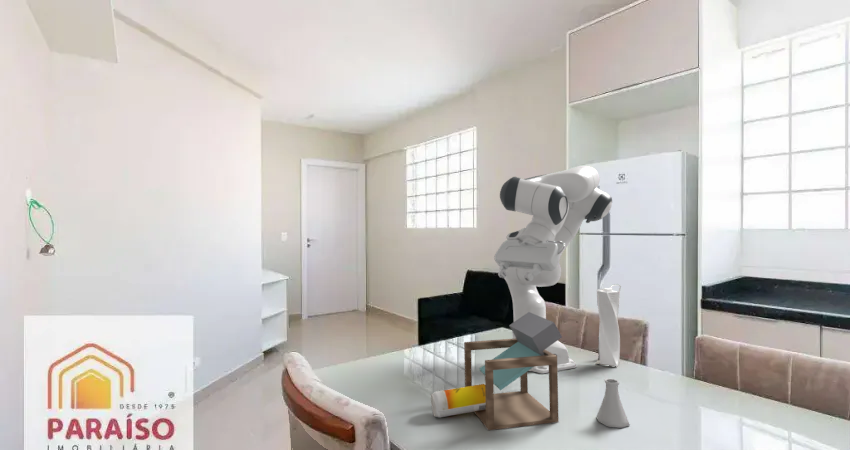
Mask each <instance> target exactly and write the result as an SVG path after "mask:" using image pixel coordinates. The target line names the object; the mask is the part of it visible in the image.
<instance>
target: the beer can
mask: <svg viewBox="0 0 850 450" xmlns="http://www.w3.org/2000/svg"><path fill="white" fill-rule="evenodd" d="M430 403H431V410H432V414H433V417H436V418H444V417H449V416H456V415H461V414H466V413H467V414H468V413H472V412H474V411H479V410H485V409H486V395H485V383H479V384H472V386H467V387H465V386H463V387H462V386H461V387H455V388H449V389H444V390H440V391H439V390H438V391H435V392H433V393H431V394H430Z"/></svg>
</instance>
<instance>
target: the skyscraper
mask: <svg viewBox="0 0 850 450" xmlns="http://www.w3.org/2000/svg"><path fill="white" fill-rule="evenodd" d="M613 287H619V288H618V291H617V290H613ZM621 287H622V286H621V284H618V283H614V284H612V285H611V286H610V287H609V288H608V287H604V288H603V289H602V288H597V289H596V298H597V301H596V302H597V309H598V316H599V323H598V325H599V326H598V327H599V328H598V337H597V339H598V348H597V352H598V358H597V359H596V362H595V365H596V364H600V365H599V366H601V365H609V366H617V365H618V362H619V361H620V354H621V353H620V352H621V337H620V328H619V322H618V317H619V316H618V315H619V311H620V310H619V309H620V298H621V297H620V296H621V294H620V291H621ZM619 363H620V362H619ZM617 367H619V365H618V366H617Z"/></svg>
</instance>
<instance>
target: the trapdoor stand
mask: <svg viewBox="0 0 850 450" xmlns="http://www.w3.org/2000/svg"><path fill="white" fill-rule="evenodd" d="M517 342H518V341H517V339H516V338H515V339H513V338H505V339H504V338H503V339H489V340H477V341H475V340H474V341H473V340H472V341H464V342H463V345H464V347H463V349H464V351H463V353H464V354H463V355H464V387H467V386H473V384H472V383H473V382H472V351H479V350H494V349H506V348H507V349H508V348H510V347H511V346H512V345H514V344H515V343H517ZM543 353H544V355H542V356H530V357H518V358H506V359H494V358H493V359H494V360H492V359H485V360H484V365H485V375H484V376H485V377H484V381H485V382H484V384H485V395H486V409H485V410H479V411H473V412H474V413H475V415H476V416H477V418H478V419H479V420H480V421H481V423H482V424H483V425H484V427H485V428H486V429H487V431H493V430H502V429H509V428H510V429H512V428H520V427H526V426H535V425H543V424H550V423H551V424H553V423H554V424H555V423H559V383H558V381H559V379H558V373H559V371H557V356H556V355H554V354H552V353H550V352H549V351H547V350H543ZM546 365H549V372H548V388H549V389H548V395H549V396H548V397H549V399H548V401H549V409H548V408H546V407H545V406H544V405H543V404H542V403H541V402H540V401H538V400H537V399H536V398H535V397H534V396H533V395H532V394H530V393H529V390H528V388H529V387H528V385H529V384H528V371H527V372H526V373H524V374H523V375H522V376H520V377H519V378H520V380H519V381H520V382H519V383H520V386H519V387H520V391H507V392H497V393H494V388H495V387H494V386H495V385H494V384H493V370H500V369H512V368H523V367H534V366H546Z"/></svg>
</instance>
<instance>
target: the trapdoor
mask: <svg viewBox="0 0 850 450" xmlns="http://www.w3.org/2000/svg"><path fill="white" fill-rule="evenodd" d="M509 328H510V329H511V332H512V331H513V333H514V335H515V337H516V339H517V341H518V342H517V343H515V344H514V345H512V346H511V347H509V348H507V349H505V350H504V351H502V352H501V353H500V354H498V355H497V356H495V357H494V358H492V359H491V360H494V359H506V358H518V357H530V356H542V355H544V353H543V350H545V349H546V348H548V347H549V346H550V345H552V344H553V343H555V342H556V341H557V340H558V341H559V340H561V339H562V338H563V336H562V334H561V332H560V330H559V328H558V327H557V325H556V323H555V321H552V320H549V319H547V318H546V319H545V318H542V317H540V316H537V315H535V314H533V313H530V312H528V313H527V314H525V315H524V316H522V317H521V318H519V319H518V320H516V321H515V322H514V321H513V322H512V323H511V324H509ZM531 368H533V367H523V368H512V369H500V370H493V386H495V387H496V388H497V389H498V390H499V391H502V390H503V389H505V388H506V387H508V386H509V385H511V384H512V383H513V382H514V381H516V380H517V379H519V378H520V376H522V375H523V374H524V373H526V372H527V373H528V372H530V371H529V370H530V369H531ZM479 371H480V372H481V373H482V375H484V376H485V364H483V365H482V366H481V367H480V368H479Z"/></svg>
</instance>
